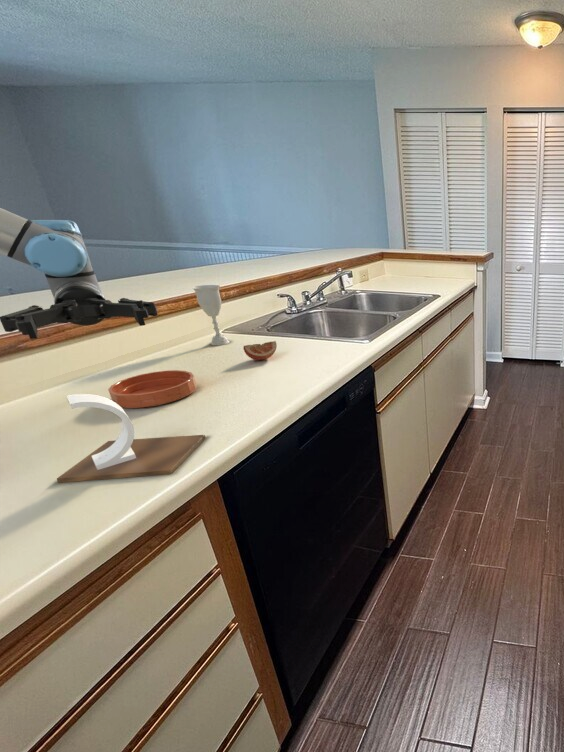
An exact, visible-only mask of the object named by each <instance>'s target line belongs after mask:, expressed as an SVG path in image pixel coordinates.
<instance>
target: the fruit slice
mask: <svg viewBox="0 0 564 752" xmlns="http://www.w3.org/2000/svg"><path fill="white" fill-rule="evenodd" d="M277 347H278V346H277V341H276V340H274V341H267V342H264V343H254V344H246V345H243V351H244V353H245V355H246V356H247V357H248V358H250V359H252V360H255V361H264V360H268V359H269V358H272V357H273V355H274V354H275V352H276V351H277Z"/></svg>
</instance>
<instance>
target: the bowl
mask: <svg viewBox="0 0 564 752" xmlns="http://www.w3.org/2000/svg"><path fill="white" fill-rule="evenodd" d="M197 387H198V385H197V382H196V378H195V375H194V374H193V373H192V371H191V372H190V371H187V370H178V369H174V370H173V369H172V370H160V371H152V372H147V373H142V374H141V373H140V374H137V375H134V376H130V377H127V378H124V379H122V380H119V381H117V382H115V383H113V384H111V385H110V386H109V387H108V389H107V391H108V393H109V396H110V398H111V399H110V400H112V401H114V402H115V403H117V404H118V405H119V406H120V407H121V408H125V409H139V408H140V409H141V408H151V407H157V406H162V405H165V404H170V403H173V402H175V401H178V400H181V399H183V398H185V397H188V396H189V395H191V394H192V393H194V392H195V391H196V390H197Z"/></svg>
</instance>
